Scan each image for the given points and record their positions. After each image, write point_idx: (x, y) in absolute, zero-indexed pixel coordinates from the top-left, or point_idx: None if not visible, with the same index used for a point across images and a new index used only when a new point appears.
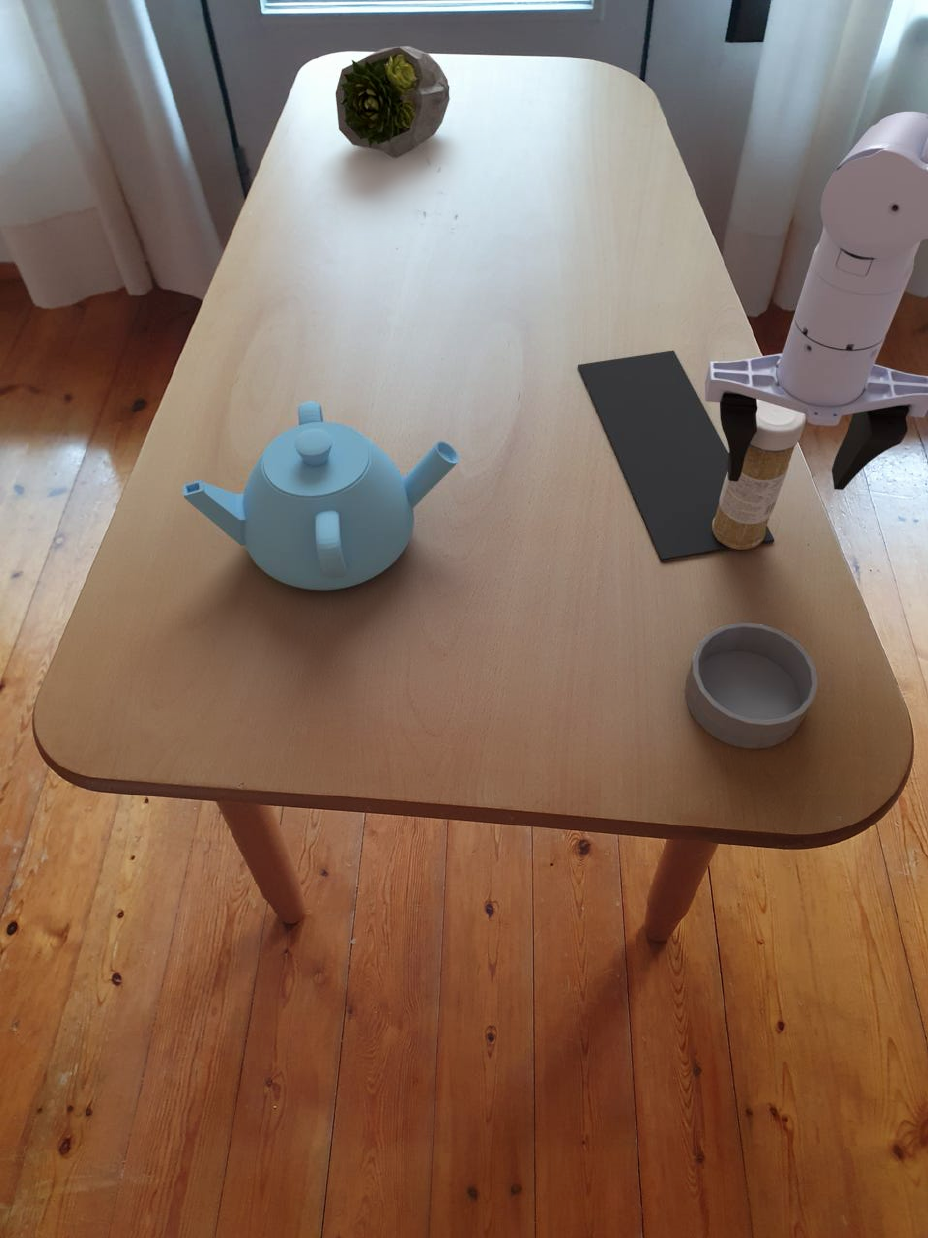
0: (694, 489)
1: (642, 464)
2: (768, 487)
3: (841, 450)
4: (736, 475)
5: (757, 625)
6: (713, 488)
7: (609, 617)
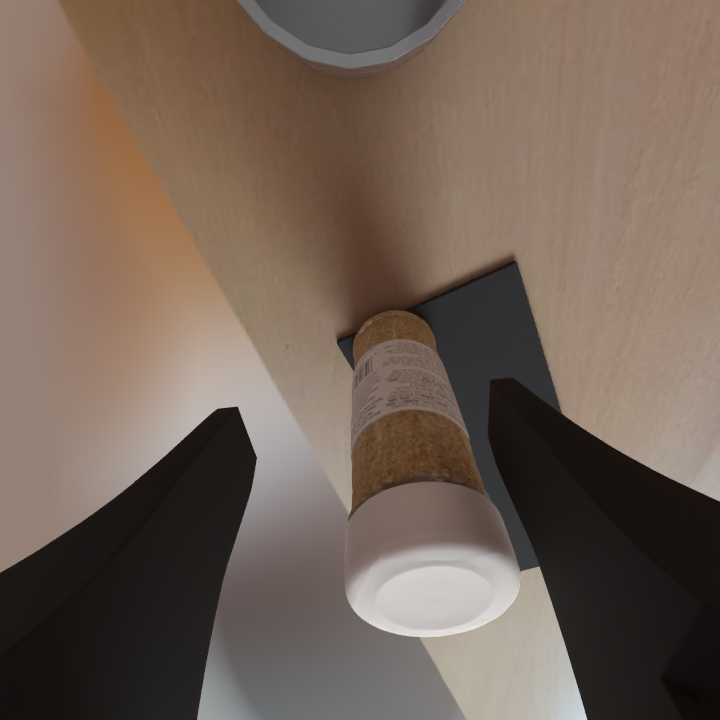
0: (458, 405)
1: None
2: (384, 399)
3: (234, 514)
4: (511, 389)
5: (356, 60)
6: None
7: (627, 95)
